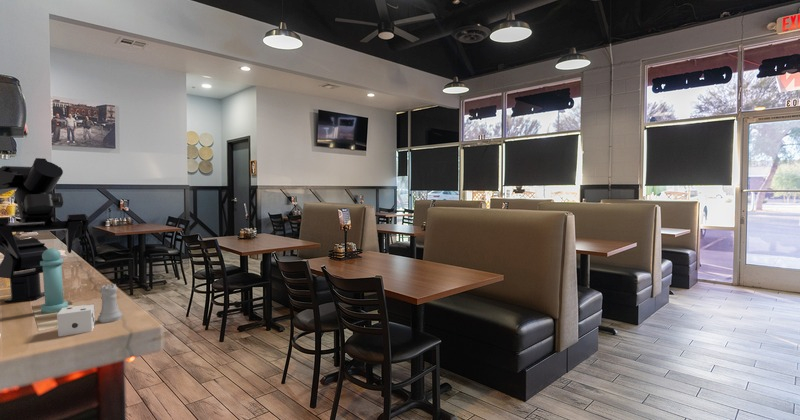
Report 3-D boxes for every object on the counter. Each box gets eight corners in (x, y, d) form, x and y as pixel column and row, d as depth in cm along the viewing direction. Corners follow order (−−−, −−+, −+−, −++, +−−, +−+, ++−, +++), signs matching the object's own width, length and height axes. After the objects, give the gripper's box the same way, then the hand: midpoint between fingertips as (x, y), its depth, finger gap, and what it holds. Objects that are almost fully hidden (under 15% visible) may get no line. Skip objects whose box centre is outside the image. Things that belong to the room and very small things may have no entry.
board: (32, 309, 97) (32, 305, 97) (70, 303, 102) (70, 299, 102) (38, 334, 80) (38, 330, 79) (84, 325, 84) (84, 322, 84)
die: (63, 333, 81) (62, 307, 80) (95, 328, 83) (94, 303, 83) (58, 341, 76) (56, 314, 76) (92, 336, 79) (91, 309, 78)
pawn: (47, 308, 94) (43, 247, 93) (71, 306, 96) (67, 246, 95) (37, 314, 90) (33, 250, 89) (63, 312, 91) (59, 249, 91)
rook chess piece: (110, 327, 83) (107, 288, 83) (91, 326, 84) (89, 287, 84) (128, 320, 87) (126, 283, 87) (111, 319, 88) (109, 282, 88)
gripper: (-20, 182, 91) (-11, 235, 85) (84, 182, 105) (99, 227, 99) (-21, 216, 97) (-12, 269, 90) (78, 212, 111) (92, 257, 104)
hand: (45, 254), depth 96 cm, fingers open, 9 cm apart
